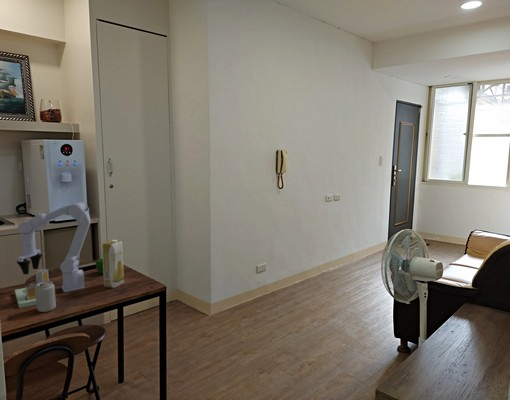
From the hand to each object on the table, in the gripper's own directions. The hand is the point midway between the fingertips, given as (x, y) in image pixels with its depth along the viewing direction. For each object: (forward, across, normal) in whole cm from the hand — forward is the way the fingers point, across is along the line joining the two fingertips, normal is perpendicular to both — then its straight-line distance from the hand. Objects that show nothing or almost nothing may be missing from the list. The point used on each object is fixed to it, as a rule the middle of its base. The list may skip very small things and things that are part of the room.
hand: (30, 271), depth 186 cm
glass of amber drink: (+10, +14, +8) cm, 19 cm away
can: (+10, +21, +20) cm, 31 cm away
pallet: (+10, +10, +5) cm, 15 cm away
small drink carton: (+10, -6, +2) cm, 12 cm away
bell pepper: (+10, -27, +24) cm, 38 cm away
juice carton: (+10, -10, +37) cm, 40 cm away
